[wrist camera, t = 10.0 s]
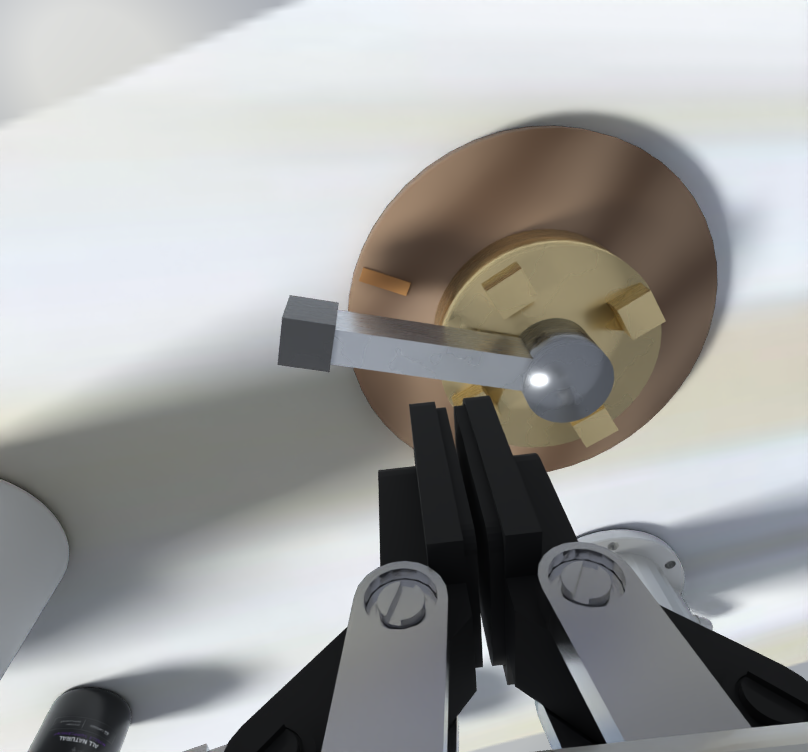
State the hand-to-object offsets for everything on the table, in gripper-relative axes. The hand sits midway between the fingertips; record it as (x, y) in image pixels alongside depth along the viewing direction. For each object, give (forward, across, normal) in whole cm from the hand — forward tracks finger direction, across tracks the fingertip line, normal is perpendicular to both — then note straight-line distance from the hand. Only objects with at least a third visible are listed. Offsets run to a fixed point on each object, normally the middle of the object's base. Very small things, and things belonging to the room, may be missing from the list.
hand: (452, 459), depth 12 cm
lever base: (+22, -7, +7) cm, 25 cm away
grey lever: (+21, -3, +6) cm, 22 cm away
